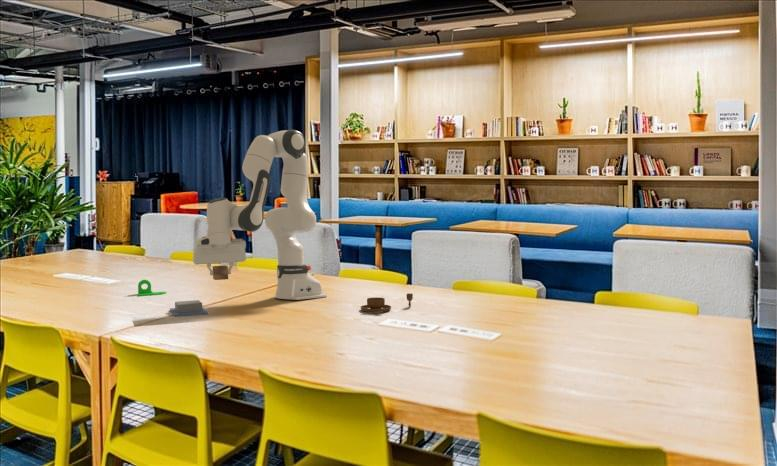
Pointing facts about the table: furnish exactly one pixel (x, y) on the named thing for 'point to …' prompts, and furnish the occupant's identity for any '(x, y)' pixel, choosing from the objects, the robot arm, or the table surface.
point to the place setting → (380, 305)
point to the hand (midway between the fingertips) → (220, 274)
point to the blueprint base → (188, 308)
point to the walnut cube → (220, 272)
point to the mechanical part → (147, 291)
